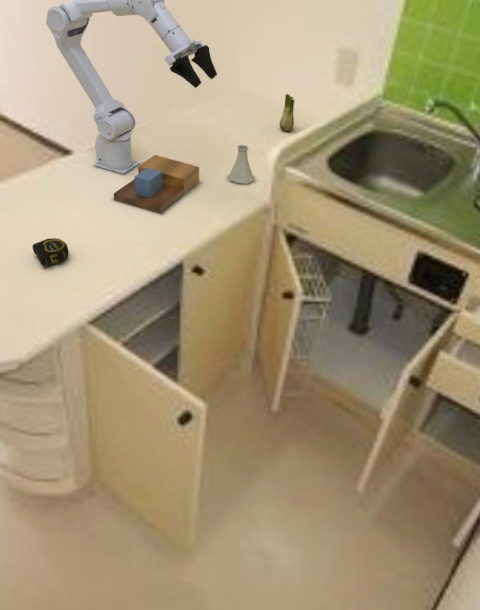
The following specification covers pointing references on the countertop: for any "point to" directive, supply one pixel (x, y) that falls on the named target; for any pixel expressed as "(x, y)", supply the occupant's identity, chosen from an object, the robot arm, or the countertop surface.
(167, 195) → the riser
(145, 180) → the blue box
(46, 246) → the tape measure
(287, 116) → the fennel bulb
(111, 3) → the robot arm
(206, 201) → the countertop surface
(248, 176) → the flask
